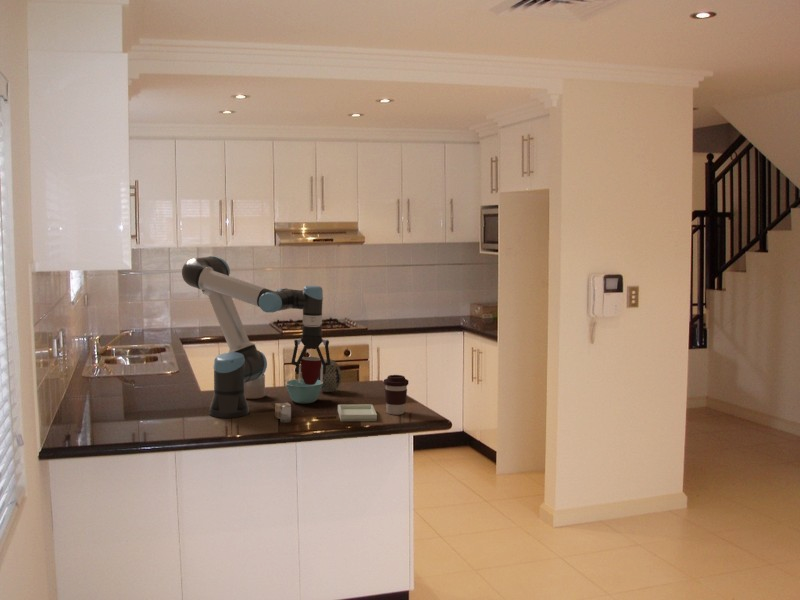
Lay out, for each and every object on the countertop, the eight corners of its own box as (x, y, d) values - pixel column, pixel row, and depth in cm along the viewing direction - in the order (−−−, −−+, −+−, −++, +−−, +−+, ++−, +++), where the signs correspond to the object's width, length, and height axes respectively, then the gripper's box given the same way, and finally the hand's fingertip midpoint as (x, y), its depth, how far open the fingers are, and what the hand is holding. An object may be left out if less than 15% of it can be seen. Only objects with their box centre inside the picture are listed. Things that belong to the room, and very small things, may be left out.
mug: (301, 379, 329) (303, 355, 328) (321, 380, 329) (323, 356, 328) (298, 385, 319) (300, 359, 318) (319, 386, 319) (320, 361, 318)
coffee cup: (379, 410, 334) (380, 374, 332) (402, 409, 338) (403, 373, 336) (388, 416, 325) (388, 379, 323) (411, 415, 328) (412, 378, 327)
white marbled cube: (278, 418, 317) (278, 406, 317) (275, 415, 322) (275, 403, 321) (290, 417, 319) (291, 405, 319) (287, 414, 324) (287, 402, 323)
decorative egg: (330, 396, 358) (331, 362, 356) (309, 392, 364) (309, 359, 362) (346, 391, 368) (346, 358, 366) (325, 388, 374) (325, 355, 372)
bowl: (279, 403, 342) (279, 384, 342) (294, 395, 357) (295, 377, 356) (313, 407, 338) (314, 387, 337) (328, 399, 353) (328, 380, 352)
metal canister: (280, 422, 312) (280, 407, 311) (280, 419, 316) (280, 404, 315) (291, 422, 312) (291, 407, 312) (290, 419, 316) (291, 404, 316)
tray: (340, 421, 316) (340, 415, 315) (337, 410, 332) (337, 404, 332) (376, 421, 318) (377, 414, 317) (372, 410, 334) (372, 404, 334)
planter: (235, 398, 349) (235, 376, 348) (245, 393, 360) (245, 371, 359) (258, 400, 347) (258, 378, 346) (268, 395, 357) (269, 373, 356)
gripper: (285, 326, 316) (283, 384, 319) (339, 327, 319) (337, 384, 322) (285, 323, 324) (283, 379, 326) (337, 324, 327) (336, 380, 329)
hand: (310, 382), depth 324 cm, fingers closed on mug, 8 cm apart
